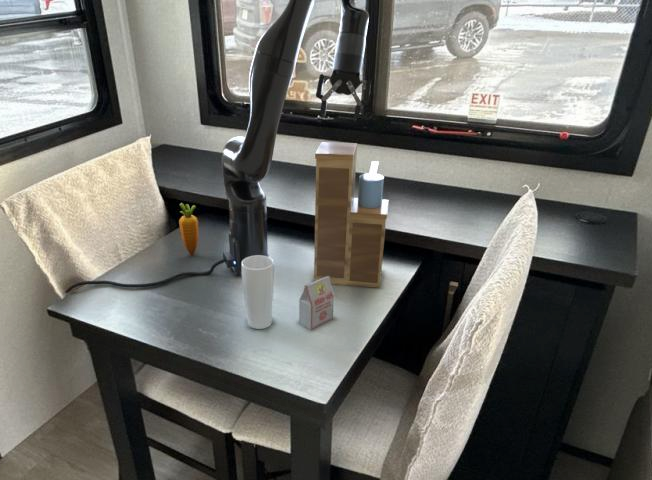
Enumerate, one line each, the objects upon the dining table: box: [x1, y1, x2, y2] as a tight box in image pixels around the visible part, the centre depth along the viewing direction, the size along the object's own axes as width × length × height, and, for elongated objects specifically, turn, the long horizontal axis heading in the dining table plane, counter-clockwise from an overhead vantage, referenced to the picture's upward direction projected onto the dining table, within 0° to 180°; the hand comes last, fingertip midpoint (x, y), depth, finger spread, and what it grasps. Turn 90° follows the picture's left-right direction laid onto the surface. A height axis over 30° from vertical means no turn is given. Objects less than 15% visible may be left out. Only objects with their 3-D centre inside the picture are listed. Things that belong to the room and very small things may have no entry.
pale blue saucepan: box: [357, 160, 385, 208], centre depth 132 cm, size 18×6×7 cm, turn 167°
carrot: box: [178, 202, 199, 257], centre depth 146 cm, size 5×5×15 cm
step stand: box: [313, 141, 390, 289], centre depth 130 cm, size 10×16×32 cm, turn 77°
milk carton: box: [298, 276, 335, 331], centre depth 118 cm, size 4×7×10 cm, turn 129°
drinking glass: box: [241, 255, 275, 330], centre depth 116 cm, size 7×7×15 cm
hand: (339, 118), depth 150 cm, fingers open, 8 cm apart
